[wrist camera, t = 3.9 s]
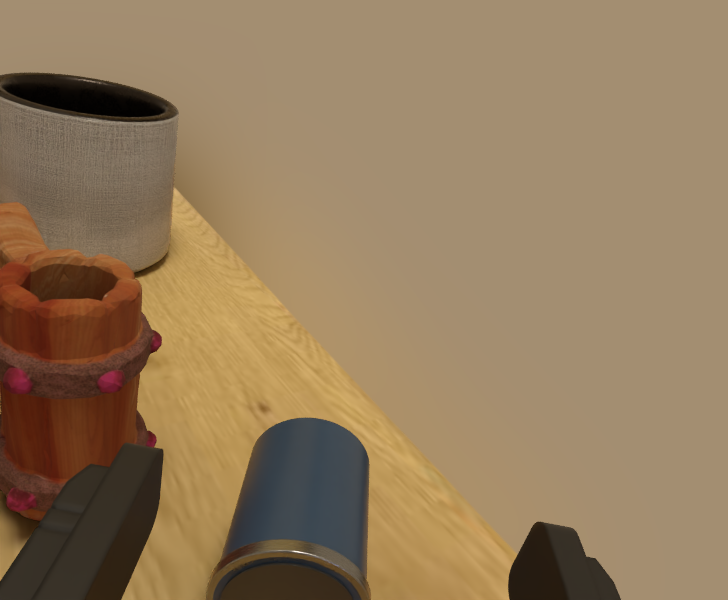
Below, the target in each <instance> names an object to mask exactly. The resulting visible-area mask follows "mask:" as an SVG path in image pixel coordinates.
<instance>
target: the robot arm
mask: <svg viewBox="0 0 728 600" xmlns="http://www.w3.org/2000/svg"><path fill="white" fill-rule="evenodd" d="M162 465H163V450H162V449H159V448H154V447H148V446H143V445H138V444H132V443H127V442H126V443H124V444H123V446H122V447H121V448H120V450H119V452H118V453H117V455H116V457H115V458H114V460H113V462H112V463H111V465H110V467H106V466H101V465H95V464H89V465H88V466H87V467H85V468H84V469H83V470H81V471H80V472H79V473H77V474H76V475H75V476H73V477H72V478H71V479H69V480H68V481H67V482H66V483H65V485H64V486H63V488H62V489H61V491H60V492H59V494H58V495H57V497H56V498H55V500H54V501H53V503H52V506H51V508H50V509H48V510H47V512H46V513H45V515H44V517H43V518H42V520H41V521H40V523H39V526H38V528H36V529H35V530H34V532H33V533H32V535H31V536H30V538H29V539H28V541H27V542H26V544H25V545H24V547H23V548H22V550H21V551H20V553H19V554H18V556H17V557H16V559H15V560H14V562H13V563H12V565H11V566H10V568H9V569H8V571H7V572H6V574H5V575H4V577H3V578H2V580H1V581H0V600H121V599H122V596H123V594H124V592H125V589H126V587H127V585H128V583H129V580H130V578H131V576H132V574H133V571H134V569H135V567H136V564H137V562H138V560H139V558H140V555H141V553H142V551H143V548H144V546H145V544H146V542H147V539H148V537H149V535H150V532H151V530H152V527H153V524H154V521H155V518H156V515H157V511H158V506H159V500H160V488H161V477H162ZM508 591H509V599H510V600H621V599H620V596H619V594H618V591H617V589H616V587H615V584H614V582H613V581H612V579H611V578H610V577H609V575H608V574H607V573H606V571H605V570H604V569H603V567H602V566H601V565H600V564H599V562H598V561H597V560H596V559H595V558H590V557H586V555H585V552H584V549H583V547H582V544H581V542H580V539H579V536H578V534H577V532H576V531H575V530H574V529H573V528H570V527H565V526H559V525H554V524H548V523H544V522H536V523H535V524H534V525H533V527H532V528H531V531H530V532H529V535H528V536H527V538H526V540H525V542H524V544H523V546H522V547H521V549H520V551H519V553H518V555H517V557H516V559H515V561H514V563H513V565H512V567H511V570H510V574H509V582H508Z"/></svg>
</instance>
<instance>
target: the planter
mask: <svg viewBox="0 0 728 600" xmlns="http://www.w3.org/2000/svg"><path fill="white" fill-rule="evenodd" d="M178 115H179V112H178V110H177V108H176V107H175V106H174V105H173V104H171V103H170V102H168V101H167V100H165V99H163V98H161V97H159V96H157V95H154V94H152V93H149V92H146V91H143V90H140V89H136V88H133V87H130V86H126V85H122V84H118V83H113V82H109V81H103V80H98V79H92V78H86V77H80V76H71V75H62V74H52V73H51V74H50V73H12V74H5V75H0V203H11V202H18V203H21V204H22V205H23V206H25V207H26V208H27V210H28V212H29V213H30V215H31V217H32V218H33V220H34V221H35V224H36V226H37V228H38V230H39V232H40V234H41V237H42V239H43V241H44V243H45V245H46V246H47V247H48V249H49V250H59V249H73V250H78V251H79V252H81V253H82V254H83V255H84V256H86V257H87V258H88V257H94V256H96V255H98V254H105V255H109V256H111V257H113V258H115V259H118V260H120V261H122V262H124V263H126V264H127V265H128V267H129V268H130V269H131V270H132V271H133V272H134V273H135V272H138V271H140V270H143V269H145V268H147V267H149V266H151V265H153V264H155V263H156V262H158V261H159V260H160V259H162V258H163V257H164V256H165V254H166V253H167V251H168V248H169V244H170V237H171V223H172V206H173V189H174V171H175V156H176V141H177V127H178Z"/></svg>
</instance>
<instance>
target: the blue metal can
mask: <svg viewBox="0 0 728 600" xmlns="http://www.w3.org/2000/svg"><path fill="white" fill-rule="evenodd" d="M368 499H369V458H368V455H367V452H366V450H365V448H364V446H363V445H362V443H361V442H360V441H359V440H358V438H357V437H356V436H355V435H353V434H352V433H351V432H350V431H348V430H347V429H345V428H344V427H342V426H340V425H338V424H335V423H333V422H330V421H327V420H323V419H317V418H296V419H290V420H287V421H283V422H281V423H278V424H276V425H274V426H272V427H271V428H269V429H268V430H267V431H265V432H264V433H263V434H262V435H261V436H260V437H259V439H258V440H257V441H256V443H255V445H254V447H253V450H252V454H251V457H250V461H249V464H248V468H247V471H246V474H245V478H244V481H243V485H242V488H241V492H240V495H239V499H238V502H237V506H236V509H235V513H234V516H233V519H232V523H231V526H230V530H229V533H228V537H227V540H226V544H225V547H224V551H223V554H222V557H221V561H220V562H219V563H218V564H217V566H216V567H215V568H214V570H213V572H212V574H211V577H210V581H209V584H208V588H207V591H206V600H371V592H370V588H369V585H368V582H367V580H366V579H367V539H368Z"/></svg>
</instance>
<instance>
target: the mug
mask: <svg viewBox="0 0 728 600" xmlns="http://www.w3.org/2000/svg"><path fill="white" fill-rule="evenodd" d="M141 306H142V288H141V284H140V283H139V281H138V280H136V279H135V275H134V272H133V271H132V270H131V269H130V268H129V267H128V265H127V264H126V263H124V262H122V261H120V260H118V259H115V258H113V257H111V256H109V255H105V254H98V255H96V256H94V257H88V258H87V257H86V256H84V255H83V254H82V253H81V252H79V251H78V250H73V249H59V250H49V249H48V247H47V246H46V245H45V243H44V241H43V239H42V237H41V234H40V232H39V230H38V228H37V226H36V224H35V221H34V220H33V218H32V217H31V215H30V213H29V212H28V210H27V208H26V207H25V206H23V205H22V204H21V203H18V202H11V203H0V392H1V414H0V489H1V490H2V492H3V493H4V494H5V495H6V496H7V497H6V505H7V507H8V508H9V509H10V510H11V511H16V512H19V513H20V514H21V515H22V516H24V517H27V518H29V519H32V520H38V521H41V520H42V518H43V517H44V515H45V513H46V512H47V510H48V509H50V508H51V506H52V503H53V501H54V500H55V498H56V497H57V495H58V494H59V492H60V491H61V489H62V488H63V486H64V485H65V483H66V482H67V481H68V480H69V479H71V478H72V477H73V476H75V475H76V474H77V473H79V472H80V471H81V470H83V469H84V468H85V467H87V466H88V465H89V464H95V465H101V466H106V467H110V465H111V463H112V462H113V460H114V458H115V457H116V455H117V453H118V452H119V450H120V448H121V447H122V446H123V444H124V443H126V442H127V443H132V444H138V445H143V446H148V447H154V446H155V443H156V441H157V440H156V436H155V435H154V434H153V433H152V432H150V431H147V429H146V426H145V423H144V420H143V418H142V417H141V415H140V413H139V412H138V411H137V397H138V387H139V378H140V372H141V371H142V369H143V368H144V366H145V365H146V363H147V360H148V357H149V355H150V354H151V353H153V352H155V351H157V350H158V348H159V347H160V346H161V343H162V337H161V336H160V334H159V333H158V332H156V331H154V330H152V329H151V327H150V325H149V323H148V321H147V319H146V317H145V315H144V314H143V313H142V312H141Z"/></svg>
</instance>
